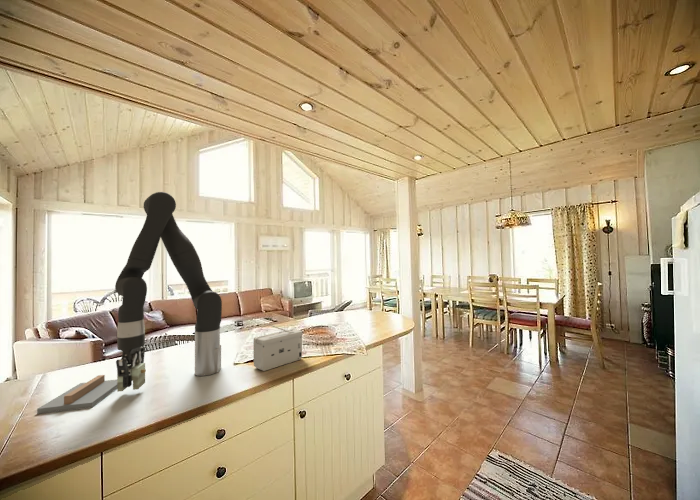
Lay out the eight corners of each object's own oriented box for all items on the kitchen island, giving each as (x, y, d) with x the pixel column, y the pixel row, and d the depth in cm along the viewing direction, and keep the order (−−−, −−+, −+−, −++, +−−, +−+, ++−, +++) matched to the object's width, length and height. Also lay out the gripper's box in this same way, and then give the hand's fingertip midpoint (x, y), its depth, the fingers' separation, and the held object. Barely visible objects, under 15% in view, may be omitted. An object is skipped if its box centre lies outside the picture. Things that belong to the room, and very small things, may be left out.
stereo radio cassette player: (294, 355, 131) (294, 313, 131) (304, 359, 125) (304, 315, 126) (252, 368, 116) (252, 320, 117) (261, 373, 110) (261, 323, 111)
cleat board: (124, 382, 104) (124, 372, 104) (91, 407, 86) (92, 394, 86) (80, 387, 100) (80, 376, 100) (37, 413, 83) (37, 400, 83)
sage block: (148, 382, 98) (148, 362, 98) (141, 388, 93) (141, 367, 93) (125, 385, 96) (125, 365, 96) (117, 391, 91) (117, 370, 92)
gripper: (133, 338, 89) (133, 391, 89) (153, 327, 103) (153, 373, 103) (105, 340, 87) (106, 394, 87) (130, 329, 101) (130, 376, 101)
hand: (131, 382), depth 95 cm, fingers closed on sage block, 5 cm apart
